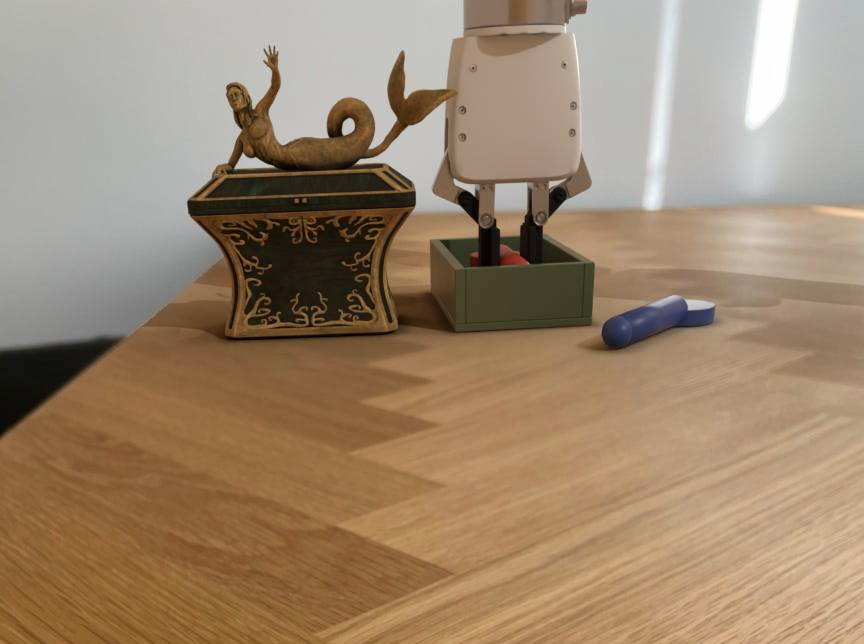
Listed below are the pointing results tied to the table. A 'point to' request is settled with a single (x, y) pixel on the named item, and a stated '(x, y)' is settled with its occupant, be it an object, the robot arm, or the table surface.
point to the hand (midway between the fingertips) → (509, 276)
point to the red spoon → (502, 257)
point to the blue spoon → (655, 320)
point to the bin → (511, 287)
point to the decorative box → (311, 217)
